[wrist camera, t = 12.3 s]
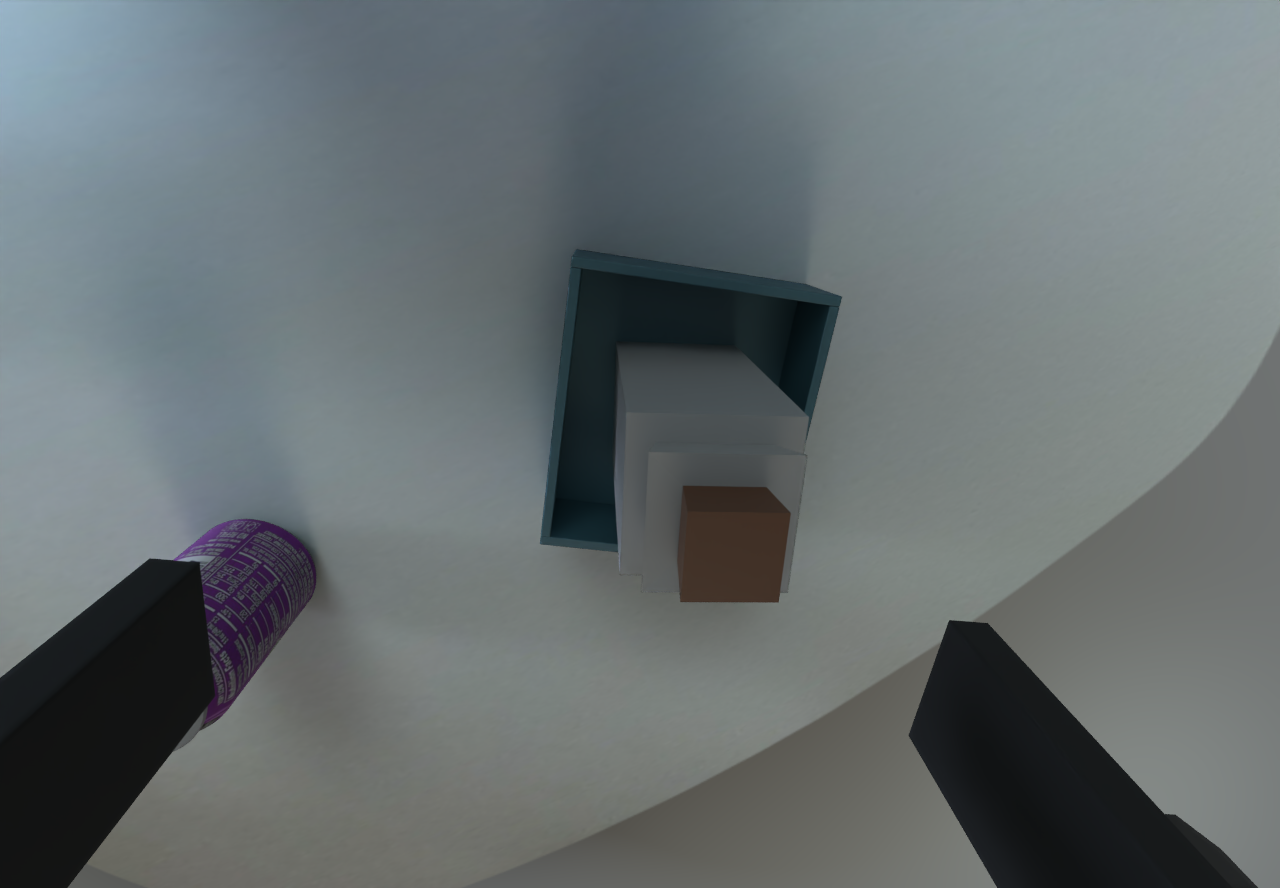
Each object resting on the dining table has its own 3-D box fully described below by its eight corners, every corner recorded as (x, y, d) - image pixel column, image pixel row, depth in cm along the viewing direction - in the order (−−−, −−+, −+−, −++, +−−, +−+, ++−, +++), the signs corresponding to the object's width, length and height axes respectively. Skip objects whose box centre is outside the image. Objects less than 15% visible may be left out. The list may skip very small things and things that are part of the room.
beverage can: (181, 577, 40) (18, 721, 29) (232, 492, 38) (80, 608, 27) (289, 631, 42) (174, 787, 30) (342, 551, 40) (241, 685, 29)
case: (575, 248, 35) (572, 255, 29) (807, 284, 36) (842, 296, 31) (547, 500, 40) (539, 544, 34) (752, 523, 41) (774, 568, 36)
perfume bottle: (735, 345, 36) (854, 461, 20) (724, 456, 39) (823, 646, 22) (615, 341, 36) (632, 457, 19) (612, 454, 38) (624, 647, 21)
